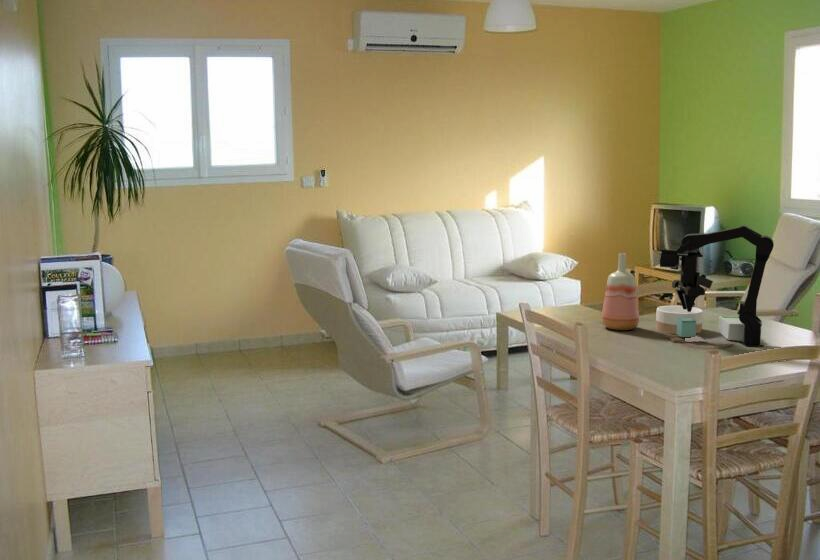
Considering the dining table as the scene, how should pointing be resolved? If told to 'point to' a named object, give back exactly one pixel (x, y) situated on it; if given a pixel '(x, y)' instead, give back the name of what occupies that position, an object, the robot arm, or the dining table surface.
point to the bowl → (669, 315)
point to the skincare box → (731, 328)
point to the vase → (620, 299)
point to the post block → (677, 338)
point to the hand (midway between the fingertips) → (687, 310)
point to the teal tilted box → (686, 327)
